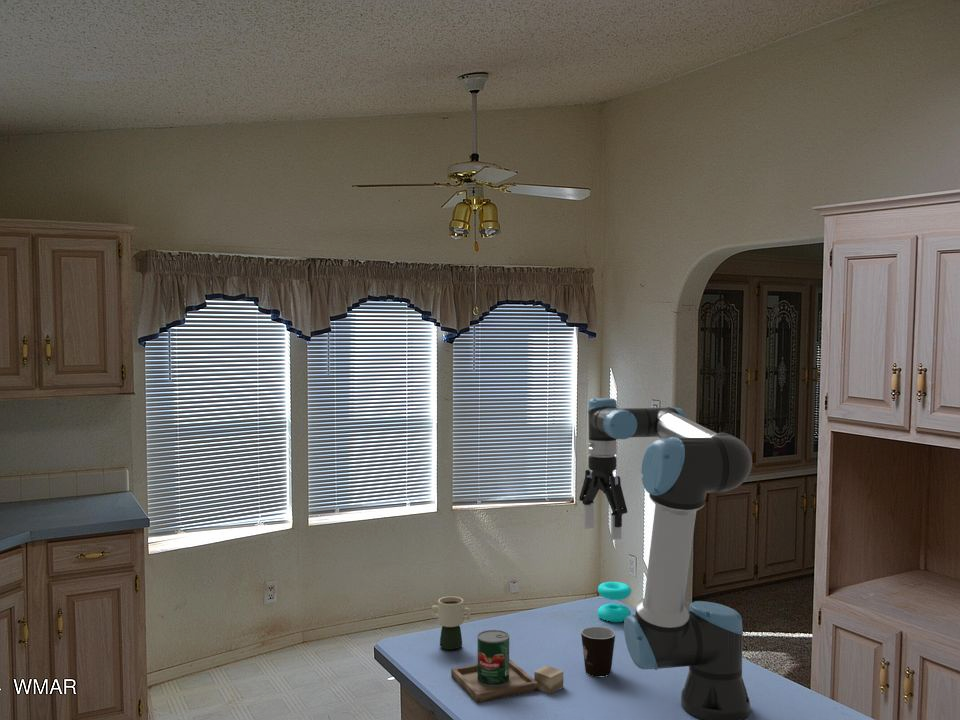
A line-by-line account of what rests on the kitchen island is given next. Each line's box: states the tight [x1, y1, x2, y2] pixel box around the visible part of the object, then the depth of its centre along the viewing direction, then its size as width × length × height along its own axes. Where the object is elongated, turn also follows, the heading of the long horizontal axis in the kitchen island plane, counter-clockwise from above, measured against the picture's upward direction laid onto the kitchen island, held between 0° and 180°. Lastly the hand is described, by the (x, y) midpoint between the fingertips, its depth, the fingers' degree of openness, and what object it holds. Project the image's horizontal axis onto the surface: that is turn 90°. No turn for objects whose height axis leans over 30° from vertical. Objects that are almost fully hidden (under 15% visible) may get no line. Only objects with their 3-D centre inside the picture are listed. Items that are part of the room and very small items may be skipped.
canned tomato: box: [476, 629, 511, 687], centre depth 196 cm, size 8×8×11 cm
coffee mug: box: [580, 626, 616, 677], centre depth 204 cm, size 12×9×10 cm
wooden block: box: [533, 665, 564, 694], centre depth 194 cm, size 5×5×4 cm
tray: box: [450, 658, 539, 704], centre depth 196 cm, size 16×16×2 cm
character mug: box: [431, 595, 471, 650], centre depth 219 cm, size 11×7×13 cm, turn 78°
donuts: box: [597, 581, 632, 623], centre depth 242 cm, size 10×10×10 cm
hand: (602, 533), depth 217 cm, fingers open, 13 cm apart
